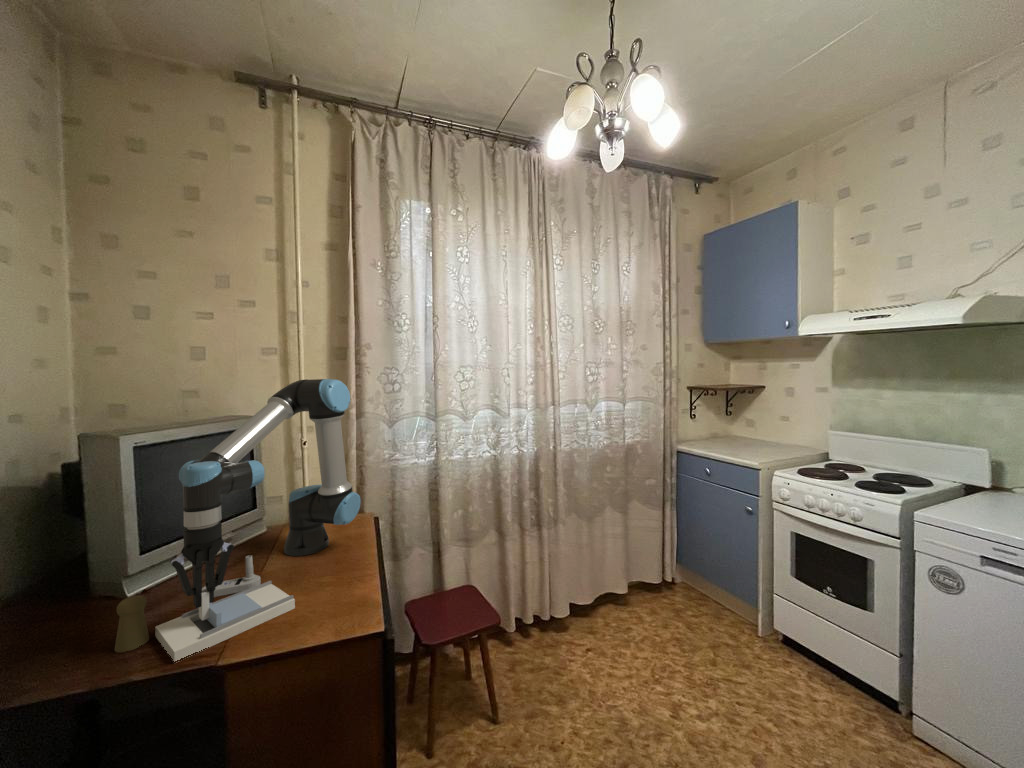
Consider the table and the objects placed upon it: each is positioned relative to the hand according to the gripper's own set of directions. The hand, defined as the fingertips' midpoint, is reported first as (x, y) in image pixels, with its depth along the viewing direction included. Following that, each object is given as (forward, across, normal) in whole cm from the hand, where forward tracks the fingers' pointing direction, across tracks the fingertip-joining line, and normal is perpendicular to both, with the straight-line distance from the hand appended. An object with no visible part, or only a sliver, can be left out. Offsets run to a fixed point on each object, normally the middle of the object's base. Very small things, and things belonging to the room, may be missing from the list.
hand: (204, 617), depth 98 cm
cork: (+4, +12, -9) cm, 15 cm away
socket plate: (+4, -5, 0) cm, 6 cm away
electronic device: (+4, -12, -18) cm, 22 cm away
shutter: (+1, -6, 0) cm, 6 cm away
